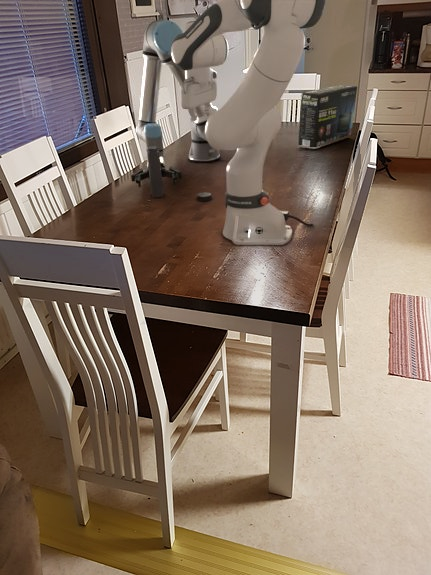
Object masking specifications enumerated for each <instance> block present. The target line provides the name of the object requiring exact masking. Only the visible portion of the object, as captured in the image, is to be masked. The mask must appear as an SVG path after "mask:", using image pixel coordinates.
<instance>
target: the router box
mask: <svg viewBox="0 0 431 575" xmlns="http://www.w3.org/2000/svg"><path fill="white" fill-rule="evenodd" d="M357 93H358V86H356V85H350V84H339V85H338V84H337V85H334V86H328V87H324V88H318V89H314V90H309V91H304V92H301V93H300V109H299V110H300V111H299V124H298V137H297V146H298V145H302V146H307V147H317V146H320V145H323V144H325V143H328V142H331V141H333V140H336V139H338V138H341V137H344V136H347V135H351V136H352V133H353V132H352V131H353V125H354V115H355V109H356V99H357ZM311 151H313V150H312V149H311Z"/></svg>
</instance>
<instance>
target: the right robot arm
mask: <svg viewBox="0 0 431 575" xmlns="http://www.w3.org/2000/svg"><path fill="white" fill-rule="evenodd" d="M325 7H326V0H217V1H216V2H214V3H213V4H211V5H210V6H209V7H208V8H206V9H205V10H204V11H202V13H201V14H200V15H199V16H198V17H197V18H196V20H191V21H188V22H187V23H185V24H184V26H183V31H182V32H183V33H182V34H178V35H177V36H176V37H175V39H174V41H173V43H172V45H171V57H172V60H173V62H174V63H175V65H176V66H177V67H179V68H180V69H181V70H183V71H185V80H184V83H183V86H182V88H180V106H181V108H182V109H183V110H188V111H187V112H188V114H189V117H190V116H191V121H196V120H197V115H196V114H195V111H196V109H195V107H198V106H201V105H203V104H204V105H205V107H204V111H203V115H204V116H208V115H209V110H210V106H211V104H212V102H214V101H216V99H217V97H218V96H217V95H218V94H217V93H218V88H217V87H218V86H217V85H218V84H217V80H216V79H218V72H217V71H215V70H213V68H212V67H219V66H222V65H224V64H225V62H226V61H227V58H228V55H229V42H228V40H227V39H226V37H225V36H224V34H230V33H237V32H238V33H239V32H243V31H248V30H250V29H253V30H256V31H257V30H260V29H261V32H262V33H261V34H262V35H261V40H260V43H259V45H258V47H257V49H256V51H255V54H254V56H253V57H252V60H251V63H250V64H249V67H248V68H247V71H246V73H245V75H244V78H243V79H242V81H241V83H240V85H239V86H238V88H237V89H236V90H235V91H234V93H233V94H232V95H231V96H230V97H229V99H228V100H227V101H226V102H225V103H224V105H222V107H221V108H219V109H218V110H219V111H217V112H216V113H215V114H213V115H212V116H210V117H209V118H208V120H207V122H206V125H205V136H206V139H207V141H208V143H209V144H210V146H211V147H212V148H214V149H215V150H218V151H234V150H236V151H235V153H234V155H233V157H232V158H231V159H230V160H229V162H228V163H227V164H226V168H225V177H226V178H225V179H226V180H225V183H226V190H225V194H224V205H225V209H226V210H225V218H224V219H225V220H224V226H223V229H222V235H223V237H225V239H228V240H230V241H232V243H233V244H234V245H236V246H283V245H286V244H288V243H289V242H290V240H291V239H292V237H293V228H292V227H291V225H288V224H286V222H288V220H289V219H293V220H296V221H297V222H299V223H300V224H302V225H304V226H306V227H313V226H314V223H307V222H305V221H303V220H302V219H300V218H299V217H297V216H293V215H291V214H290V211H288V210H279V209H278V208H277V207H276V206H275V205H272V204H271V203H270V202H269V194H270V192H269V191H267V192H266V191H265V190H263V178H264V177H263V176H264V166H265V165H264V164H265V162H266V161H265V160H266V157H267V154H268V151H269V149H270V146H271V144H272V142H273V141H274V140H275V138H276V137H277V135H278V134H279V133H280V131H281V128H282V123H283V122H282V115H281V112H280V111H279V108H277V107H276V106H277V105H278V104H279V102H280V101H281V99H282V97H283V95H284V93H285V91H286V90H287V88H288V85H289V84H290V82H291V80H292V78H293V76H294V75H295V72H296V70H297V68H298V66H299V63H300V61H301V58H302V56H303V52H304V48H305V45H306V36H305V33H304V32H303V30H302V29H309V28H312V27H314V26H315V25H316V24H317V23H318V22H319V21H320V19H321V17H322V15H323V13H324V10H325Z"/></svg>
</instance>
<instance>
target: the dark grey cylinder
mask: <svg viewBox="0 0 431 575" xmlns="http://www.w3.org/2000/svg"><path fill="white" fill-rule="evenodd" d="M147 157H148V161H147V164H148V166H149V174H150V178H149V182H150V191H151V197H152V198H163V197H164V196H165V195H164V187H163V186H164V185H163V177H162V174H161V163H160V153H159V151H158V147H156V146H152V147H148V151H146V158H147Z"/></svg>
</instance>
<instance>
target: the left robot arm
mask: <svg viewBox="0 0 431 575" xmlns="http://www.w3.org/2000/svg"><path fill="white" fill-rule="evenodd" d="M183 32H184V31H183V30H182V28H181V27H180V25H178V24H177V23H176V22H174V21H172V20H170V19H161V20H159V19H158V20H154V21H151V22H150V23H149V24H148V25H147V26H146V28H145V31H144V35H143V42H142V43H143V44H142V45H143V46H142V58H144V61H143V72H142V81H141V82H142V83H141V95H140V106H139V113H138V114H139V116H138V124H137V125H136V127H135V133H136V135H137V138H139V139H140V140H141V141H142V142H144V143H145V149H146V150H145V151H146V152H147V151H148V147H152V146H156V147H158V151H159V153H160V163H161V174H162V178H170V179H172V184H173V186H176V181H178V180H179V179H183V176H182V175H183V174H182V171H180V170H178V169H176V168H175V167H173V166H169V167H168V168H166V163H165V162H166V161H165V160H166V159H165V152H164V142H163V140H164V139H163V131H162V126H161V124H160V123H156V120H157V112H158V103H159V94H160V86H161V78H162V77H161V76H162V68H163V65H164V66H168V68H169V70H170V72H171V74H172V75H173V78H174V80H175V82H176V83H177V85H178V86H179V88H180V89H181V88H182V86H183V83H184V80H185V71H183V70H181V69H180V68H179V67H177V66H176V65H175V63H174V62H173V60H172V57H171V45H172V43H173V41H174V39H175V37H176V36H177V35H178V34H182V33H183ZM204 107H205V105H204V104H203V105H201V106H198V107H195V109H196V111H195V114H196V115H197V120H196V121H191V116H190V115H189V122H190V137H191V145H190V149H189V152H188V160H189V161H190V162H192V163H198V164H200V163H201V164H202V163H204V164H205V163H212V162H217V161H218V160H220V159H221V157H220V156H221V155H220V154H221V153H220V150H215V149H214V148H212V147H211V146H210V144H209V143H208V141H207V139H206V136H205V125H206V122H207V120H208V118H209V117H210V116H212V115H213V114H215V113H216V112H217V111H219V110H220V109H219V108H218V107H216V106H213V104H212V103H211V106H210V110H209V115H208V116H204V115H203V111H204ZM146 159H147V162H148V157H147V156H146ZM146 166H147V168H146V169H143V168H141V167H140V168H139V169H138V170H137V171H136V172H134V173H132V174H131V175H130V178H131V182H133V183H134V182H135V184H137V186H138V188H141V187H142V186H141V185H142V181H143V180H146V179H150V174H149V166H148V163H147V164H146Z"/></svg>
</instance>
